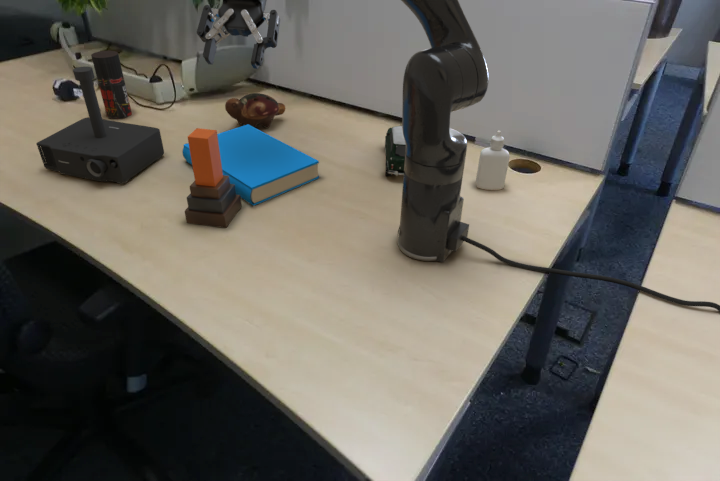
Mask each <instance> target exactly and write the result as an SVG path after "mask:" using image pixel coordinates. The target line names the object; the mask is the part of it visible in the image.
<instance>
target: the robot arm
mask: <svg viewBox="0 0 720 481" xmlns="http://www.w3.org/2000/svg"><path fill="white" fill-rule="evenodd" d="M267 1H268V0H222V4H221V6H220V7H219V8H211V6H210V5H209V4H205V5H204V6H203V8H202V11H201V15H200V18H199V22H198V26H197V28H196V34H197V36H198V37H199V39H200V40H201V42H203V43H204V46H203V51H202V57H203V59H204V60H205V62H206V64H208V65H214V62H215V58H216V54H217V48H218V46H217V45H218V44H219V43H220V42H221V41H222V40H225V39H227V38H228V37H229V36H230V35H231V36H234V37H236V36H241V37H247V38H248V37H249V36H250V35H252V36H253V38H254V39H255V41H256V43H254V44H253V48H252V55H251V59H250V65H251V67H252V68H253V69H254V70H255V69H256V70H258V69H259V67H260V66H262V64H263V62H264V57H265V52H266V50H267V49H269V48H272V49H275V48H277V47H278V41H279V35H280V34H279V33H280V26H281V25H280V24H281V18H280V16H279V14H278V12H277V10H276V9H271V10H270V12H265V11H266V7H267ZM400 1H401V3H403V4H404V5H405V7H407V8H408V9H409V10H410V12H411V13H412V14H413V15H414V16H415V18H416V19H417V20H418V21H419V23H420V25H421V26H422V29H423V30H424V32H425V33H424V34H425V35H426V37H427V40H428V42H429V45H430V48H426V49H422V50H419V51H416V52H415V53H413V55H412V56H411V57H410V58H409V59H408V61H407V63H406V66H405V69H404V72H403V80H402V108H401V109H402V115H401V118H402V119H401V125H402V130H403V136H404V139H405V143H406V150H405V164H404V175H403V178H402V191H401V205H400V215H399V216H400V217H399V226H398V230H397V234H398V236H397V238H398V239H397V246H398V248H399V251H401V252H402V253H403V254H404V255H405V256H407V257H409V258H411V259H414V260H417V261H423V262H424V261H425V262H435V261H437V262H439V263H444V262H445V260H446V259H447V258H448V257H449V256H450V255H451V254H452V252H457V250H459V249H460V247H461V246H462V244H463V243H464V242H465V243H467V244H469V245H471V246H474V247H476V248H478V249H481V250H483V251H485V252H486V253H488V254H490V255H491V256H493V257H494V258H495V259H496V260H498V261H500V262H502V263H504V264H506V265H509V266H512V267H516V268H519V269H524V270H527V271H528V270H529V271H534V272H541V273H549V274H554V275H555V274H556V275H560V276H566V277H574V278H581V279H588V280H597V281H603V282H609V283H612V284H616V285H617V284H618V285H621V286H625V287H628V288H631V289H633V290H636V291H640V292H642V293H645V294H647V295H650V296H652V297H655V298H658V299H661V300H663V301H666V302H670V303H673V304H676V305H680V306H683V307H684V306H685V307H701V308H702V307H703V308H706V307H707V308H712V309H714V310H717V311H718V312H719V313H720V304H718V303H716V302H713V301H705V300H704V301H703V300H702V301H701V300H700V301H699V300H697V301H695V300H684V299H681V298H676V297H673V296H670V295H668V294H664V293H661V292H658V291H655V290H653V289H650V288H648V287H645V286H642V285H640V284H637V283H634V282H631V281H627V280H623V279H620V278H616V277H611V276H607V275H600V274H592V273H585V272H577V271H570V270H566V269H565V270H563V269H560V268H559V269H557V268H552V267H545V266H537V265H532V264H526V263H521V262H517V261H514V260H512V259H509V258H505V257H504V256H503V255H501V254H499V253H498V252H496V251H495V250H494V249H492V248H490V247H488V246H486V245H485V244H483V243H480V242H478V241H476V240H473V239H471V238H469V237H468V235H469V229H470V228H469V227H470V224H469V223H466V222H464V221H463V222H462V221H461V220H462V213H463V207H464V201H465V199H464V197H463V196H461V192H462V184H463V178H464V171H465V163H466V157H467V152H468V151H467V150H468V141H467V138H466V136H465V135H464V134H463V133H461V132H459V131H458V130H456V129H453V128H451V113H454V112H457V111H461V110H463V109H466V108H467V109H468V108H469V107H473V106H475V105H476V104H479V103H480V102H481V101H482V100H483V99H484V98H485V95H486V93H487V92H488V88H489V70H488V66H487V65H488V64H487V61H486V58H485V56H484V52H483V51H482V47H481V46H480V44H479V42H478V40H477V38H476V36H475V33H474V31H473V29H472V26H471V24H470V23H469V20H468V18H467V17H466V14H465V12H464V9H463V8H462V6H461V3H460V1H459V0H400ZM218 18H219V19H218ZM217 19H218V20H217ZM264 22H266V24H267V32H266V36H264V37H263V36H262V35H261V32H260V31H259V28H260V27H261V25H263V24H264ZM223 27H224V29H223Z"/></svg>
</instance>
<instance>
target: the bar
mask: <svg viewBox="0 0 720 481" xmlns="http://www.w3.org/2000/svg"><path fill="white" fill-rule="evenodd" d="M217 134H218V130H217V129H210V128H199V127H197V128H195V129H194V130H193V131H192V132H190V134H188V135H187V142H188V143H189V148H190V154H191V160H192V165H191V166H192V171H193V176H194V181H195V183H196V185H205V186H213V187H215V186H216V185H217V184H218V183H219V181H220V180H221V179H222V178H223V173H222V165H221V158H220V151H219V144H218V137H217Z"/></svg>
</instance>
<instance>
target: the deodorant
mask: <svg viewBox="0 0 720 481" xmlns="http://www.w3.org/2000/svg"><path fill="white" fill-rule="evenodd" d="M90 56H91V60H92V64H93V69H94V72H95V77H96V80H97V84H98V87H99V90H100V95H101V99H102V104H103V107H104V110H105V115H106V117H107V118H108V119H110V120H121V119H125V118H128V117H130V116H132V115H133V112H132V108H131V103H130V99H129V94H128V90H127V86H126V81H125V77H124V72H123V69H122V64H121V60H120V55H119V52H118V51H115V50H100V51H96V52H93V53H91V54H90Z"/></svg>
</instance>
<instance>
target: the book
mask: <svg viewBox="0 0 720 481" xmlns="http://www.w3.org/2000/svg"><path fill="white" fill-rule="evenodd" d="M217 137H218V144H219V151H220V158H221V165H222V173H223V175H226V176H229V179H230V184H235V190H236V195H240V198H241V200H242V199H243V200H244V201H245V202H247V203H248V204H250V205H251V206H254V207H255V206H256V205H259V204H261V203H264V202H266V201H269V200H271V199H273V198H275V197H279V196H281V195H282V194H285V193H287V192H290V191H293V190H294V189H297V188H299V187H301V186H304V185H306V184H309V183H311V182H314V181H316V180H318V179H320V175H319V163H320V160H318V159H316V158H314V157H313V156H311V155H308V154H306V153H304V152H303V151H301V150H299V149H297V148H294V147H293V146H291V145H289V144H287V143H285V142H284V141H282V140H280V139H278V138H276V137H274V136H272V135H270V134H268V133H266V132H264V131H262V130H260V129H258V128H256V127H255V128H254V127H252V126H251V125H249V124H247V125H244V124H243V125H241V126H239V127H235V128H232V129H228V130H225V131H222V132H218V133H217ZM182 147H183V148H182V156H183V158H184V159H185V161H186V163H188V164H190V165H191V166H192V160H191V154H190V148H189V143H184V144H183V146H182Z"/></svg>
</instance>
